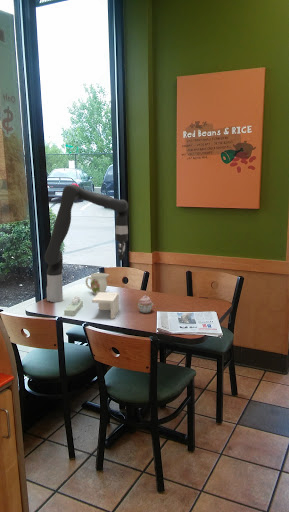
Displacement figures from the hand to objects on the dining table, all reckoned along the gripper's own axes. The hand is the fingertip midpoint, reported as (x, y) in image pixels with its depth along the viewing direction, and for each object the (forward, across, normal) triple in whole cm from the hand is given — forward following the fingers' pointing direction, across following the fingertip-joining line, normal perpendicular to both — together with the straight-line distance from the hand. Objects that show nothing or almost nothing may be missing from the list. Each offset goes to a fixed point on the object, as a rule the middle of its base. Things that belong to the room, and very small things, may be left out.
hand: (121, 259), depth 253 cm
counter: (+28, +21, -7) cm, 36 cm away
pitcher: (+29, -21, -19) cm, 40 cm away
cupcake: (+28, +16, +16) cm, 36 cm away
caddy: (+29, +17, -26) cm, 42 cm away
